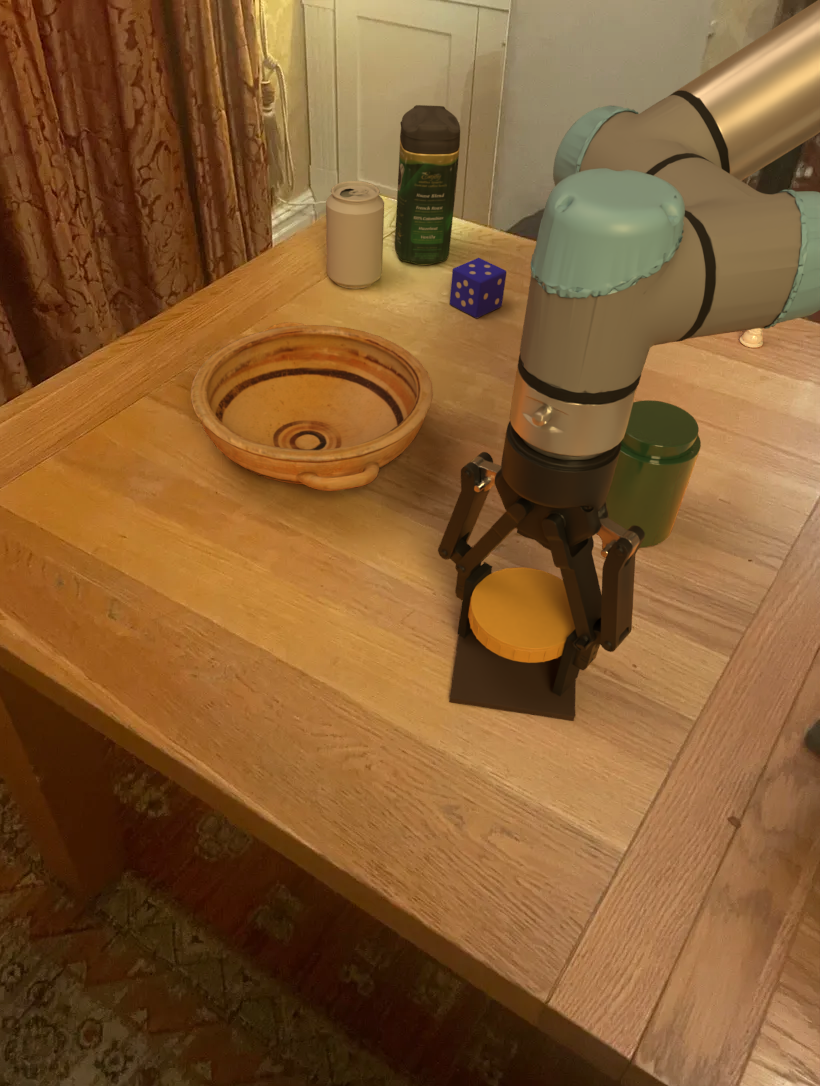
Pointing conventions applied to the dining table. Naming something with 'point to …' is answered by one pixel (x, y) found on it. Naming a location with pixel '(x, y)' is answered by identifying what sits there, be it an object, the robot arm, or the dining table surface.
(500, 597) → the jar lid
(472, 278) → the die
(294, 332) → the ceramic bowl
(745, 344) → the chess pawn
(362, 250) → the can
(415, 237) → the coffee jar
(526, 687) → the coaster
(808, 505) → the dining table surface
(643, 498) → the jar
